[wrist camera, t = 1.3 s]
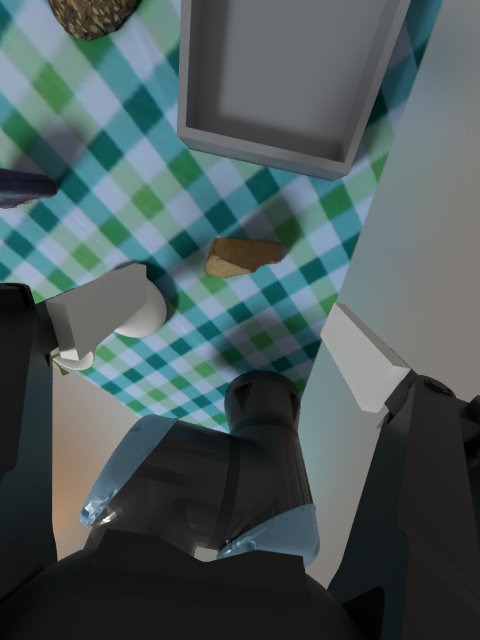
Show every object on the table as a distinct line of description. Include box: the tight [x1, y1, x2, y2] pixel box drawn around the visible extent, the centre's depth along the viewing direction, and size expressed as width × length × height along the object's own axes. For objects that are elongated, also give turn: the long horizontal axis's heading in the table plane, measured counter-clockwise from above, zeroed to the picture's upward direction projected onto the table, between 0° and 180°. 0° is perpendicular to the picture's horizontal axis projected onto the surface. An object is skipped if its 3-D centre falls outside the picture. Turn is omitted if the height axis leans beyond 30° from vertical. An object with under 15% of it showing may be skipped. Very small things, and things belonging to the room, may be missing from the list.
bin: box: [177, 0, 411, 181], centre depth 17 cm, size 22×18×4 cm
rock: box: [205, 238, 282, 279], centre depth 27 cm, size 11×9×10 cm
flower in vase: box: [50, 269, 167, 375], centre depth 22 cm, size 13×11×25 cm
